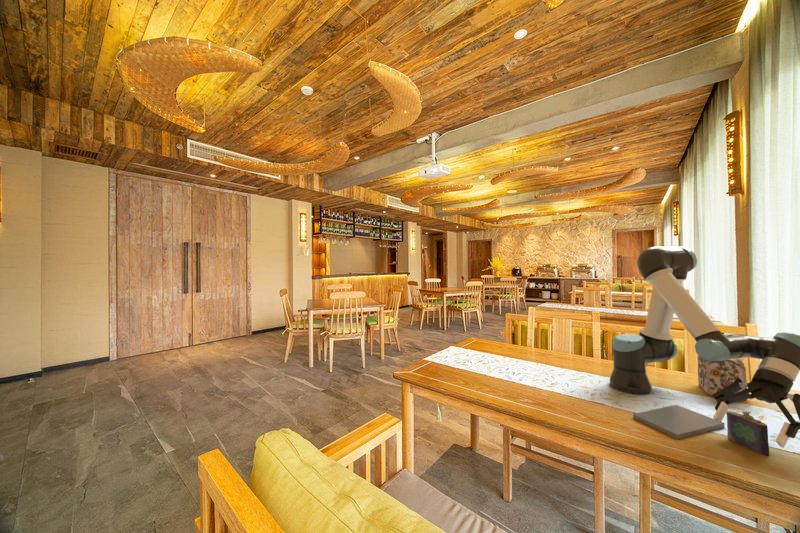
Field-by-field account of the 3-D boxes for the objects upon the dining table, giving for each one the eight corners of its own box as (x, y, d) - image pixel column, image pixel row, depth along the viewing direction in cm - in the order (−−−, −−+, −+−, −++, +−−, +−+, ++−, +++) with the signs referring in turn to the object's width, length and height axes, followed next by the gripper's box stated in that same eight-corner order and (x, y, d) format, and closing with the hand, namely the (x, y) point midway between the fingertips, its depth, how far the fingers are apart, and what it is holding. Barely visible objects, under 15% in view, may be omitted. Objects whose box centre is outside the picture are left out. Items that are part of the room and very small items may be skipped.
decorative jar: (748, 400, 117) (746, 356, 117) (707, 394, 123) (705, 352, 123) (735, 389, 127) (733, 348, 127) (697, 384, 133) (696, 345, 133)
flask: (725, 438, 93) (724, 405, 93) (732, 437, 94) (731, 404, 94) (765, 457, 84) (763, 420, 84) (773, 455, 85) (771, 419, 85)
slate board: (633, 418, 107) (633, 414, 107) (676, 408, 113) (676, 404, 113) (677, 439, 94) (677, 434, 94) (724, 427, 99) (724, 422, 99)
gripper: (848, 399, 81) (818, 464, 77) (728, 370, 105) (700, 418, 101) (836, 383, 80) (805, 448, 76) (717, 357, 104) (689, 405, 100)
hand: (745, 431), depth 89 cm, fingers open, 13 cm apart
